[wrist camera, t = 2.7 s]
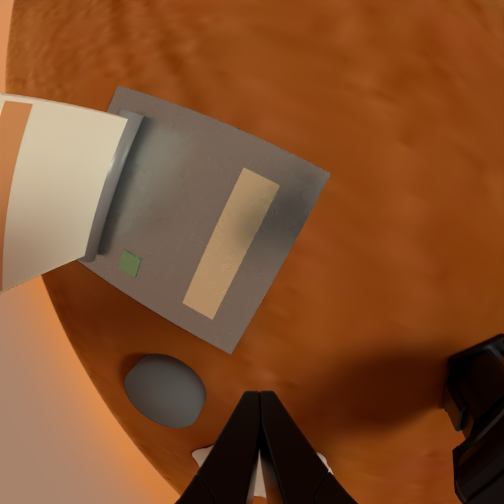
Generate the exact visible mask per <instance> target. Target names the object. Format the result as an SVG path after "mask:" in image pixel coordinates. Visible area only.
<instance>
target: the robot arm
mask: <svg viewBox="0 0 504 504" xmlns="http://www.w3.org/2000/svg"><path fill="white" fill-rule="evenodd" d="M454 361H455V362H454ZM453 362H454V363H453ZM452 363H453V364H452ZM443 404H444V409H445V411H446V412H447V413H448V415H449V417H450V419H451V421H452V424H453V426H454V428H455V430H456V431H458V432H459V431H461V430H462V432H463V434H464V436H465V439H466V440H465V441H464V442H463V443H461V444H460V445H459V446H457V447H456V448H455V449H453V450H452V453H453V467H454V487H455V494H456V495H457V496H458V498H459V500H460V501H461V502H462V504H504V334H503V335H501V336H499V337H496V338H494V339H492V340H490V341H488V342H486V343H484V344H481V345H479V346H477V347H475V348H472V349H470V350H468V351H465V352H463V353H460V354H458V355H455V356H453V357H451V358H450V359H449V360H448V365H447V380H446V381H445V383H444V392H443ZM259 453H260V463H261V469H262V475H263V480H264V486H265V492H266V498H267V503H268V504H358V503H357V502H356V501H355V500H354V499H353V498H352V497H351V496H350V495H349V494H348V493H347V492H346V491H345V489H344V488H343V487H342V486H341V485H340V483H339V482H338V481H337V480H336V478H335V477H334V476H333V474H332V473H331V472H328V471H329V469H328V468H327V467H326V465H325V464H324V463H323V461H322V460H321V458H320V457H319V456H318V454H317V453H316V452H315V450H314V449H313V447H312V446H311V445H310V443H309V442H308V440H307V439H306V438H305V436H304V435H303V433H302V432H301V430H300V429H299V428H298V426H297V425H296V423H295V422H294V420H293V419H292V417H291V416H290V415H289V413H288V412H287V410H286V409H285V407H284V406H283V404H282V403H281V401H280V400H279V398H278V397H277V395H276V394H275V392H274V391H260V392H258V391H245V392H244V394H243V395H242V397H241V399H240V401H239V402H238V404H237V406H236V408H235V410H234V411H233V413H232V415H231V417H230V418H229V420H228V422H227V424H226V425H225V427H224V429H223V430H222V432H221V434H220V436H219V437H218V439H217V441H216V442H215V444H214V446H213V447H212V449H211V451H210V452H209V454H208V456H207V457H206V459H205V460H204V462H203V464H202V465H201V467H200V468H199V470H198V472H197V475H195V476H194V478H193V479H192V481H191V482H190V484H189V485H188V487H187V488H186V490H185V491H184V493H183V494H182V495H181V497H180V498H179V499H178V500H177V502H176V503H175V504H253V497H254V490H255V483H256V476H257V469H258V461H259Z"/></svg>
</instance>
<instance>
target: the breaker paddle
mask: <svg viewBox="0 0 504 504" xmlns="http://www.w3.org/2000/svg"><path fill="white" fill-rule="evenodd" d="M143 117H144V116H143V115H140V114H137V113H134V112H132V111H129V110H126V109H122V108H119V110H118V113H117V115H114V114H110V113H106V112H102V111H98V110H94V109H89V108H85V107H80V106H76V105H71V104H66V103H61V102H56V101H51V100H45V99H39V98H33V97H27V96H21V95H14V94H6V93H0V293H2V292H4V291H6V290H9V289H10V288H13V287H15V286H17V285H19V284H21V283H23V282H26V281H28V280H30V279H32V278H34V277H36V276H39V275H41V274H43V273H46V272H48V271H50V270H52V269H55V268H57V267H59V266H62V265H64V264H66V263H69V262H71V261H73V260H76V259H78V260H80V261H83V262H93V261H95V259H96V255H97V251H98V247H99V243H100V240H101V236H102V232H103V228H104V225H105V221H106V218H107V215H108V211H109V208H110V205H111V202H112V199H113V195H114V192H115V189H116V186H117V183H118V181H119V178H120V175H121V172H122V169H123V167H124V164H125V161H126V158H127V156H128V153H129V151H130V148H131V146H132V143H133V141H134V138H135V136H136V133H137V131H138V129H139V126H140V124H141V122H142V119H143Z"/></svg>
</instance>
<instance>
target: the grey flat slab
mask: <svg viewBox="0 0 504 504" xmlns="http://www.w3.org/2000/svg"><path fill="white" fill-rule="evenodd" d="M119 108H122V109H126V110H129V111H132V112H134V113H137V114H140V115H143V116H144V117H143V119H142V122H141V124H140V126H139V129H138V131H137V133H136V136H135V138H134V141H133V143H132V146H131V148H130V151H129V153H128V156H127V158H126V161H125V164H124V167H123V169H122V172H121V175H120V178H119V181H118V183H117V186H116V189H115V192H114V195H113V199H112V202H111V205H110V208H109V211H108V215H107V218H106V221H105V225H104V228H103V232H102V236H101V240H100V243H99V247H98V251H97V255H96V259H95V261H93V262H83V261H80V260H78V259H76V260H78V261H79V262H80V263H82V264H83V265H85V266H86V267H87V268H89V269H90V270H92V271H93V272H94V273H96V274H97V275H99V276H100V277H102V278H103V279H105V280H106V281H107V282H109V283H110V284H112V285H113V286H115V287H116V288H118V289H119V290H121V291H122V292H124V293H126V294H127V295H129V296H130V297H132V298H133V299H135V300H136V301H138V302H140V303H141V304H143V305H144V306H146V307H148V308H149V309H151V310H152V311H154V312H156V313H157V314H159V315H161V316H162V317H164V318H166V319H167V320H169V321H171V322H172V323H174V324H176V325H178V326H179V327H181V328H183V329H185V330H186V331H188V332H190V333H192V334H193V335H195V336H197V337H199V338H201V339H203V340H204V341H206V342H208V343H210V344H212V345H214V346H215V347H217V348H219V349H221V350H223V351H225V352H227V353H229V354H232V352H233V350H234V348H235V347H236V345H237V343H238V342H239V340H240V338H241V336H242V335H243V333H244V331H245V330H246V328H247V326H248V324H249V323H250V321H251V319H252V317H253V316H254V314H255V312H256V310H257V309H258V307H259V305H260V303H261V302H262V300H263V298H264V296H265V294H266V293H267V291H268V289H269V287H270V286H271V284H272V282H273V280H274V278H275V277H276V275H277V273H278V271H279V269H280V268H281V266H282V264H283V262H284V260H285V258H286V257H287V255H288V253H289V251H290V249H291V247H292V246H293V244H294V242H295V240H296V238H297V236H298V234H299V233H300V231H301V229H302V227H303V225H304V223H305V221H306V220H307V218H308V216H309V214H310V212H311V210H312V208H313V206H314V204H315V202H316V201H317V199H318V197H319V195H320V193H321V191H322V189H323V187H324V185H325V183H326V181H327V179H328V177H329V176H330V173H328V172H326V171H324V170H323V169H321V168H319V167H317V166H315V165H313V164H311V163H309V162H307V161H305V160H303V159H301V158H299V157H297V156H295V155H293V154H291V153H289V152H287V151H285V150H283V149H281V148H279V147H277V146H275V145H273V144H271V143H269V142H266V141H264V140H262V139H260V138H258V137H255V136H253V135H251V134H249V133H247V132H244V131H242V130H240V129H237V128H235V127H233V126H230V125H228V124H226V123H223V122H221V121H218V120H216V119H213V118H211V117H208V116H206V115H203V114H201V113H198V112H195V111H193V110H190V109H188V108H185V107H182V106H179V105H177V104H174V103H171V102H168V101H165V100H162V99H159V98H156V97H154V96H150V95H147V94H144V93H141V92H138V91H135V90H132V89H128V88H125V87H122V86H118V87H117V90H116V92H115V94H114V96H113V98H112V101H111V103H110V105H109V108H108V110H107V112H106V113H110V114H114V115H117V113H118V110H119Z"/></svg>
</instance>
